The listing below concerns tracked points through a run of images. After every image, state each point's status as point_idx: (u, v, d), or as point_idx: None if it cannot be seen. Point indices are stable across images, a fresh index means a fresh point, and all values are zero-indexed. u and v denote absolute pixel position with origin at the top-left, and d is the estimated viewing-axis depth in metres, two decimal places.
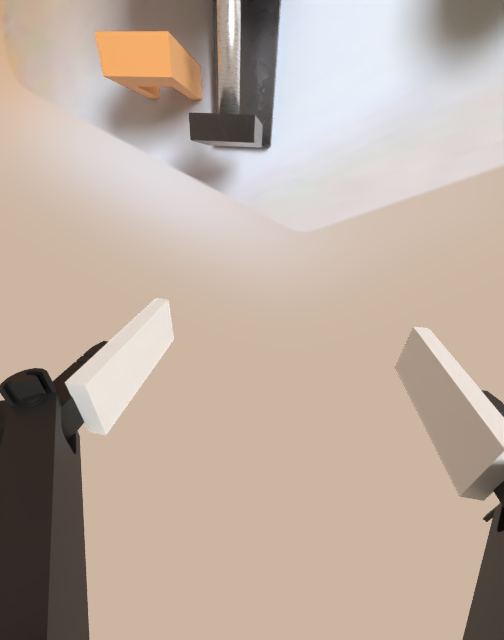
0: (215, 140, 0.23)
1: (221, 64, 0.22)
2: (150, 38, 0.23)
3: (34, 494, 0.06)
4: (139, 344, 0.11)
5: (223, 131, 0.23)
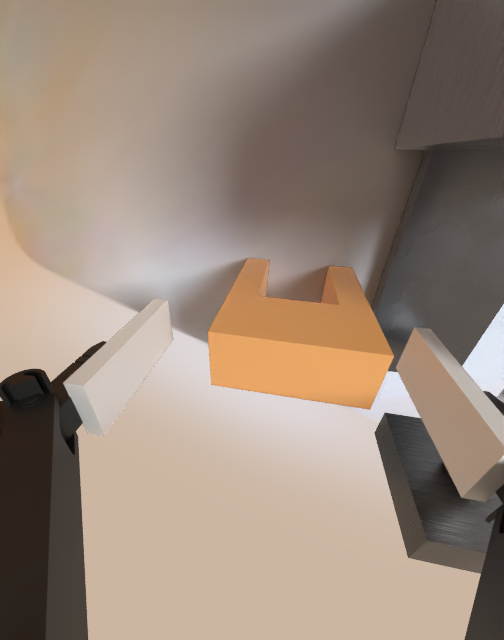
0: None
1: None
2: (342, 359, 0.10)
3: (32, 495, 0.06)
4: (138, 344, 0.11)
5: None
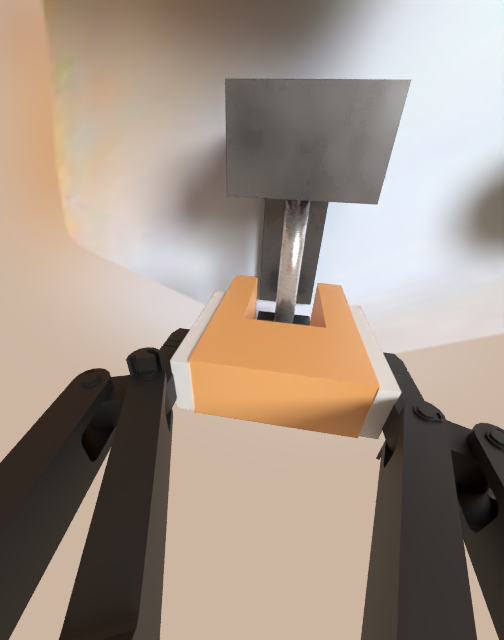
0: None
1: (281, 299, 0.25)
2: (327, 388, 0.09)
3: (141, 462, 0.06)
4: None
5: None
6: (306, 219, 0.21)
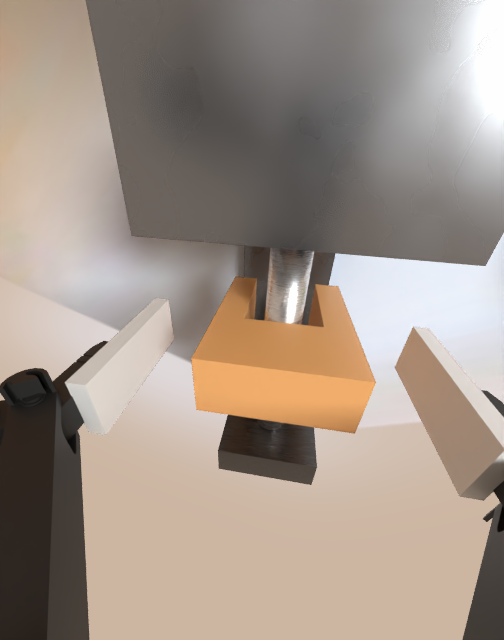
0: None
1: None
2: (325, 385, 0.10)
3: (34, 494, 0.06)
4: (139, 344, 0.11)
5: (267, 470, 0.16)
6: (309, 268, 0.11)
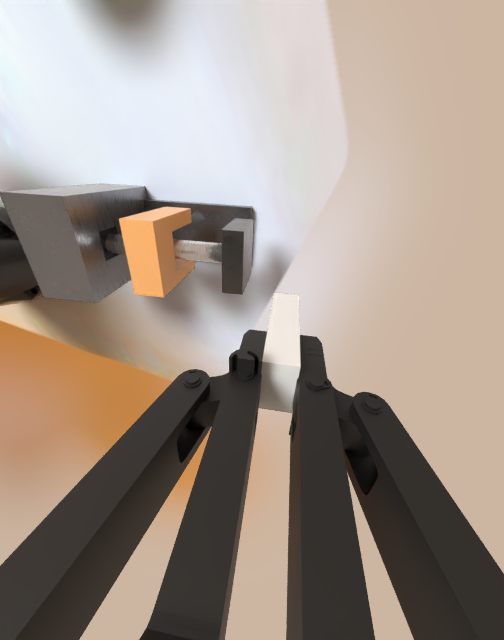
0: (242, 271, 0.24)
1: (192, 257, 0.26)
2: (128, 240, 0.22)
3: (233, 465, 0.07)
4: None
5: (234, 262, 0.23)
6: (122, 237, 0.26)
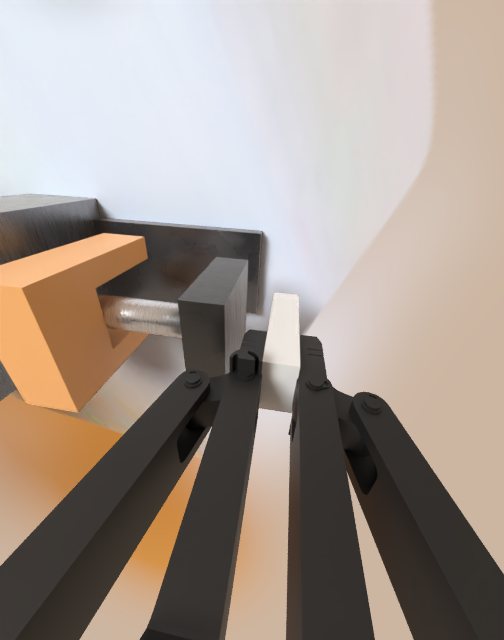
0: (224, 370, 0.12)
1: (137, 330, 0.14)
2: None
3: (233, 465, 0.07)
4: None
5: (209, 357, 0.12)
6: None
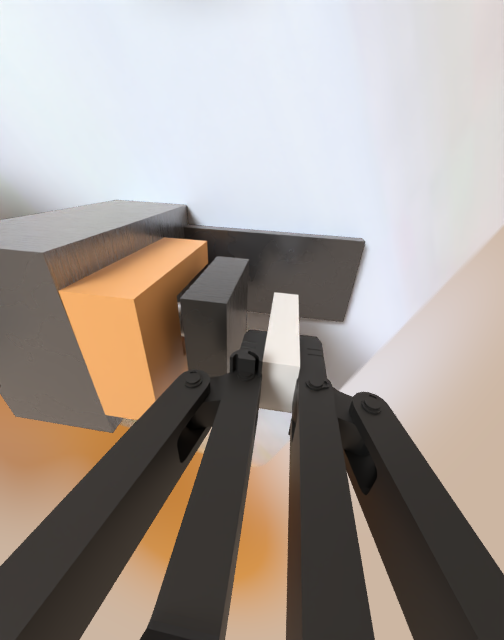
0: (226, 368, 0.12)
1: None
2: (82, 330, 0.10)
3: (233, 465, 0.07)
4: None
5: (211, 355, 0.12)
6: None
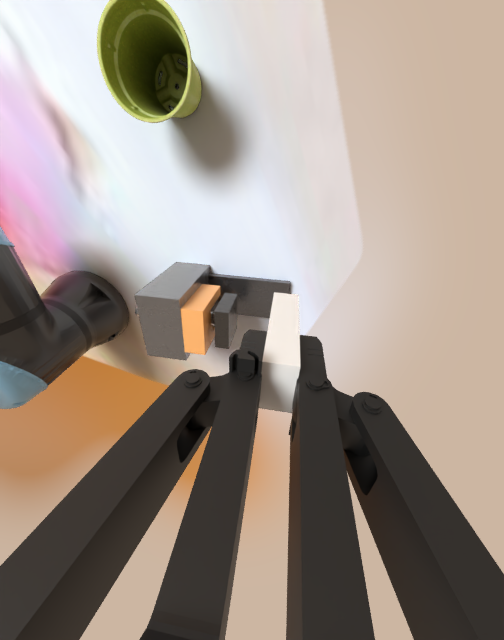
0: (228, 335, 0.36)
1: None
2: (184, 320, 0.33)
3: (233, 465, 0.07)
4: None
5: (223, 330, 0.35)
6: None
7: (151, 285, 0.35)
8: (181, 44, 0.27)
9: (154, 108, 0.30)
